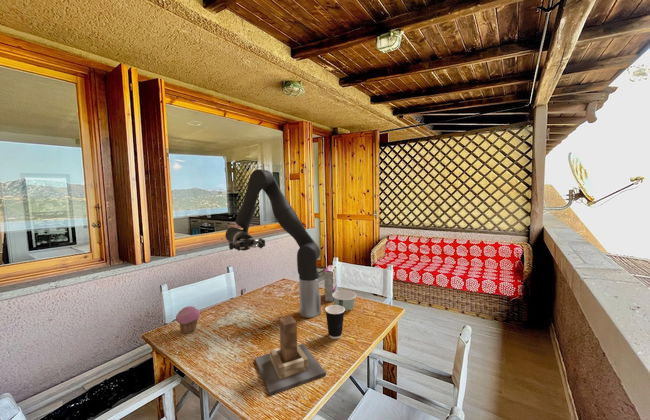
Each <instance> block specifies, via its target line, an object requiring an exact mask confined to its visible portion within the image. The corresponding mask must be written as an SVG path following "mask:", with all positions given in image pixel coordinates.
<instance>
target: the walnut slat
mask: <svg viewBox="0 0 650 420" xmlns="http://www.w3.org/2000/svg"><path fill="white" fill-rule="evenodd" d="M297 325H298V323H297V320H296V319H295V318H293V316H292V315H290V316H289V315H288V316H285V317H281V318H279V336H280V337H279V339H280V340H279V341H280V342H279V348H280V354H281V361H282V363H283V364H284V363H287V362H290V361H293V360H297V344H298V326H297Z"/></svg>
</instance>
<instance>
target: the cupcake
mask: <svg viewBox="0 0 650 420" xmlns="http://www.w3.org/2000/svg"><path fill="white" fill-rule="evenodd" d="M200 317H201V312H200V310H199V309H198V308H196V307H195V306H193V305H188V306H186V307H185V306H184V307H183V308H182V309H180V310H179V311H178V312H177V314H176V316H175V321H176V322H177V323H178V324H179V328H180V332H181V333H184V334H189V333H191V332H193V331H196V329H197V325H198V321H199V318H200Z"/></svg>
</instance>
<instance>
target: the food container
mask: <svg viewBox="0 0 650 420" xmlns="http://www.w3.org/2000/svg"><path fill="white" fill-rule="evenodd" d="M332 296H333V299H334V302H333V305H340V306H342V307H344V308H345V311H346V312H349V311H348V310H351V309H353V310H354V307H355V302H356V301H355V300H356V297H357V294H356V293H355V292H353V291H351V290H337V291H336V292H334V293H333V294H332ZM351 311H352V310H351Z"/></svg>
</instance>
